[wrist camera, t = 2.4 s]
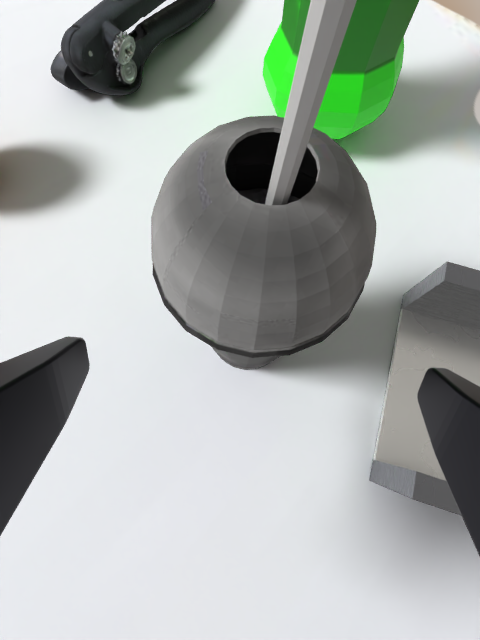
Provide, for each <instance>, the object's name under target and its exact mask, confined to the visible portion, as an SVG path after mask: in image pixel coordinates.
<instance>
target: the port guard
mask: <svg viewBox="0 0 480 640" xmlns="http://www.w3.org/2000/svg"><path fill="white" fill-rule="evenodd" d="M431 367H436V368H446V369H449V370H450V371H452V372H454V373H456V374H458V375H460V376H461V377H463V378H465V379H467V380H469V381H470V382H472V383H474V384H476V385H478V386H480V271H479V270H475V269H472V268H468V267H465V266H461V265H457V264H454V263H450V262H446V263H445V264H443V265H442V266H441V267H439V268H438V269H437V270H435V271H434V272H433V273H432V274H430V275H429V276H428V277H426V278H425V279H424V280H422V281H421V282H420V283H418V284H417V285H416V286H414V287H413V288H412V289H410V290H409V291H408V292H406V293H405V294H404V295H403V300H402V306H401V311H400V317H399V322H398V328H397V333H396V338H395V344H394V349H393V355H392V360H391V366H390V371H389V376H388V382H387V387H386V393H385V398H384V404H383V409H382V415H381V420H380V425H379V431H378V436H377V442H376V447H375V453H374V458H373V463H372V469H371V474H370V480H369V481H372V482H374V483H376V484H379V485H381V486H383V487H386V488H388V489H390V490H393V491H395V492H397V493H400V494H402V495H404V496H407V497H409V498H411V499H414V500H417V501H420V502H423V503H426V504H429V505H432V506H435V507H438V508H441V509H444V510H447V511H450V512H453V513H456V514H459V515H461V513H460V511H459V508H458V506H457V504H456V501H455V499H454V497H453V495H452V492H451V490H450V488H449V486H448V483H447V481H446V479H445V476H444V474H443V472H442V470H441V467H440V465H439V463H438V460H437V458H436V455H435V453H434V450H433V447H432V444H431V441H430V438H429V435H428V432H427V429H426V425H425V422H424V419H423V416H422V413H421V410H420V407H419V403H418V399H417V394H418V390H419V388H420V385H421V383H422V380H423V378H424V376H425V373H426V371H427V370H428V369H429V368H431ZM461 516H462V515H461Z"/></svg>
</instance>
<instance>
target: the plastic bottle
mask: <svg viewBox="0 0 480 640" xmlns="http://www.w3.org/2000/svg"><path fill="white" fill-rule="evenodd" d="M310 2H311V0H284V9H283V17H282V22H281V24H280V26H279V28H278V30H277V32H276V34H275V36H274V38H273V40H272V42H271V44H270V46H269V49H268V51H267V53H266V55H265V58H264V67H263V77H264V80H265V84H266V87H267V90H268V93H269V95H270V98H271V100H272V103H273V106H274V108H275V111H276V113H277V116H278V117H283V118H284V117H285V113H286V109H287V104H288V100H289V95H290V91H291V86H292V82H293V77H294V73H295V69H296V64H297V60H298V55H299V51H300V46H301V42H302V37H303V33H304V28H305V24H306V20H307V15H308V11H309V6H310ZM418 2H419V0H357V1H356V4H355V7H354V10H353V13H352V16H351V19H350V22H349V24H348V27H347V30H346V33H345V36H344V39H343V42H342V45H341V48H340V51H339V54H338V57H337V60H336V63H335V65H334V68H333V71H332V74H331V77H330V80H329V83H328V86H327V89H326V92H325V95H324V98H323V101H322V103H321V106H320V109H319V112H318V115H317V118H316V121H315V124H314V127H313V128H315V129H317V130H319V131H321V132H323V133H325V134H327V135H328V136H329V137H330V138H331V139H341V138H343V137H346V136H348V135H349V134H351V133H353V132H355V131H357V130H359V129H360V128H362V127H364V126H366V125H368V124H370V123H372V122H373V121H375V120H376V119H377V118H378V117H379V116H380V115H381V114H382V113H383V112H384V111H385V110H386V108H387V106H388V104H389V102H390V100H391V97H392V95H393V92H394V89H395V86H396V83H397V80H398V77H399V74H400V71H401V68H402V62H403V52H404V39H403V36H404V34H405V32H406V30H407V27H408V25H409V23H410V20H411V18H412V16H413V13H414V11H415V9H416V7H417V4H418Z"/></svg>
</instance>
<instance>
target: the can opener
mask: <svg viewBox="0 0 480 640" xmlns="http://www.w3.org/2000/svg"><path fill="white" fill-rule="evenodd" d="M165 1H166V0H103V1H102V2H100V3H99V4H98V5H97V6H95V7H94V8H93V9H92V10H90V11H89V12H88V13H87V14H85V15H84V16H83V17H82V18H80V19H79V20H78V21H77V22H76V23H75V24H73V25H72V26H71V27H70V28H69V29H68V30H67V31H66V32H65V34H64V36H63V38H62V42H61V51H60V52H59V53H58V54H57V55H56V57H55V59H54V60H53V63H52V65H51V73H52V76H53V77H54V78H55V79H56V80H57V81H59V82H60V83H62V84H63V85H65V86H66V87H68V88H70V89H73V90H85V89H88V88H90V89H92V90H94V91H96V92H99V93H102V94H108V95H126V94H130V93H133V92H135V91H136V90H137V89H138V88H139V87H140V85H141V81H142V71H143V65H144V63H145V61H146V59H147V57H148V56H149V54H150V53H151V51H152V50H153V49H154V48H155V47H156V46H157V45H158V44H160V43H161V42H163V41H164V40H166V39H167V38H169V37H171V36H172V35H174V34H175V33H177V32H179V31H181V30H183V29H184V28H186V27H188V26H189V25H191V24H192V23H194V22H195V21H196V20H197V19H199V18H200V17H201V16H202V15H203V14H204V13H205V12H206V11H207V10H208V9H209V8H210V7H211V6H212V4H213V2H214V1H215V0H177V1H175V2H173V3H172V4H170V5H168V6H167V7H165V8H163V9H162V10H160V11H159V12H157V13H155V14H153V15H152V16H150V17H149V18H147V19H146V20H144V21H143V22H141V23H140V24H138V25H137V26H136V27H135V29H134V30H133V31H132V32H131V33H129V34H128V35H127V32H124V31H126V30H127V29H129V28H130V27H131V26H132V25H134V24H135V23H136V22H137V21H138V20H139V19H140V18H142V17H145V16H146V15H147V14H149V13H150V12H151V11H153V10H154V9H155V8H157V7H158V6H159V5H161V4H162V3H163V2H165ZM123 32H124V33H123Z"/></svg>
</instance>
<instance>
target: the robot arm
mask: <svg viewBox="0 0 480 640" xmlns="http://www.w3.org/2000/svg"><path fill="white" fill-rule="evenodd" d="M88 371H89V359H88V353H87V348H86V343H85V341H84V339H83V338H79V337H65V338H62V339H60V340H57V341H55V342H52V343H50V344H47V345H44V346H42V347H39V348H37V349H34V350H32V351H29V352H27V353H24V354H22V355H19V356H17V357H14V358H12V359H9V360H7V361H4V362H2V363H0V536H1V534H2V532H3V530H4V529H5V527H6V525H7V523H8V522H9V520H10V518H11V517H12V515H13V513H14V511H15V510H16V508H17V506H18V504H19V503H20V501H21V499H22V498H23V496H24V494H25V492H26V491H27V489H28V487H29V486H30V484H31V482H32V480H33V479H34V477H35V475H36V473H37V472H38V470H39V468H40V467H41V465H42V463H43V461H44V460H45V458H46V456H47V455H48V453H49V451H50V449H51V448H52V446H53V444H54V442H55V441H56V439H57V437H58V436H59V434H60V432H61V430H62V429H63V427H64V425H65V423H66V421H67V419H68V417H69V415H70V413H71V411H72V408H73V406H74V404H75V401H76V399H77V397H78V395H79V392H80V390H81V388H82V385H83V383H84V381H85V379H86V376H87V374H88ZM417 399H418V403H419V407H420V410H421V413H422V416H423V419H424V422H425V425H426V429H427V432H428V435H429V438H430V441H431V444H432V447H433V450H434V453H435V455H436V458H437V460H438V463H439V465H440V467H441V470H442V472H443V474H444V476H445V479H446V481H447V483H448V486H449V488H450V490H451V492H452V495H453V497H454V499H455V501H456V504H457V506H458V508H459V511H460V513H461V515H462V517H463V520H464V522H465V524H466V526H467V529H468V531H469V533H470V536H471V538H472V540H473V542H474V545H475V547H476V549H477V551H478V554H479V556H480V386H478V385H476V384H474V383H472V382H470V381H469V380H467V379H465V378H463V377H461V376H460V375H458V374H456V373H454V372H452V371H450V370H449V369H446V368H436V367H431V368H429V369H428V370H427V371H426V373H425V376H424V378H423V380H422V383H421V385H420V388H419V390H418V394H417Z"/></svg>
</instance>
